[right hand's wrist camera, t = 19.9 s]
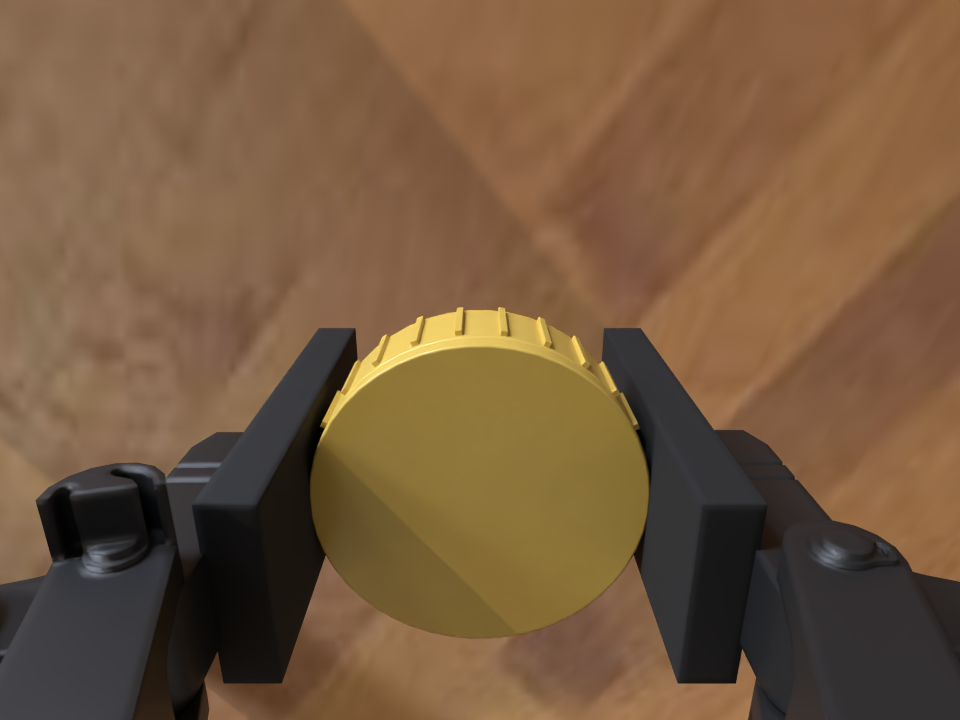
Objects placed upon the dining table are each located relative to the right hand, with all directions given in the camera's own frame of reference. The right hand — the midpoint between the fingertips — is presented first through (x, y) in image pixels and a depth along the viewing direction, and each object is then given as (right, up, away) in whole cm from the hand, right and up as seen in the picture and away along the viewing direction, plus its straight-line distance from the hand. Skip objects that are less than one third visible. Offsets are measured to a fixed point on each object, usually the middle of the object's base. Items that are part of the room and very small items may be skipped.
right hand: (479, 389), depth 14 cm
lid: (0, -1, -4) cm, 4 cm away
